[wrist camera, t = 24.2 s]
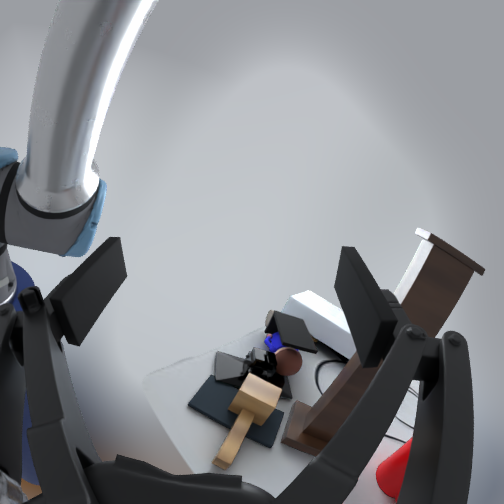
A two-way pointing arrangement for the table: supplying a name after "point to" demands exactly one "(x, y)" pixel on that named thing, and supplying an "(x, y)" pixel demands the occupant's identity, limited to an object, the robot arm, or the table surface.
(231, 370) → the black angular block
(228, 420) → the mat
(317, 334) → the skincare box
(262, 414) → the wooden toy mallet
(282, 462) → the table surface
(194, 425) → the table surface
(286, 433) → the stand
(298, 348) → the figurine character
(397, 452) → the mug
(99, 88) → the robot arm
